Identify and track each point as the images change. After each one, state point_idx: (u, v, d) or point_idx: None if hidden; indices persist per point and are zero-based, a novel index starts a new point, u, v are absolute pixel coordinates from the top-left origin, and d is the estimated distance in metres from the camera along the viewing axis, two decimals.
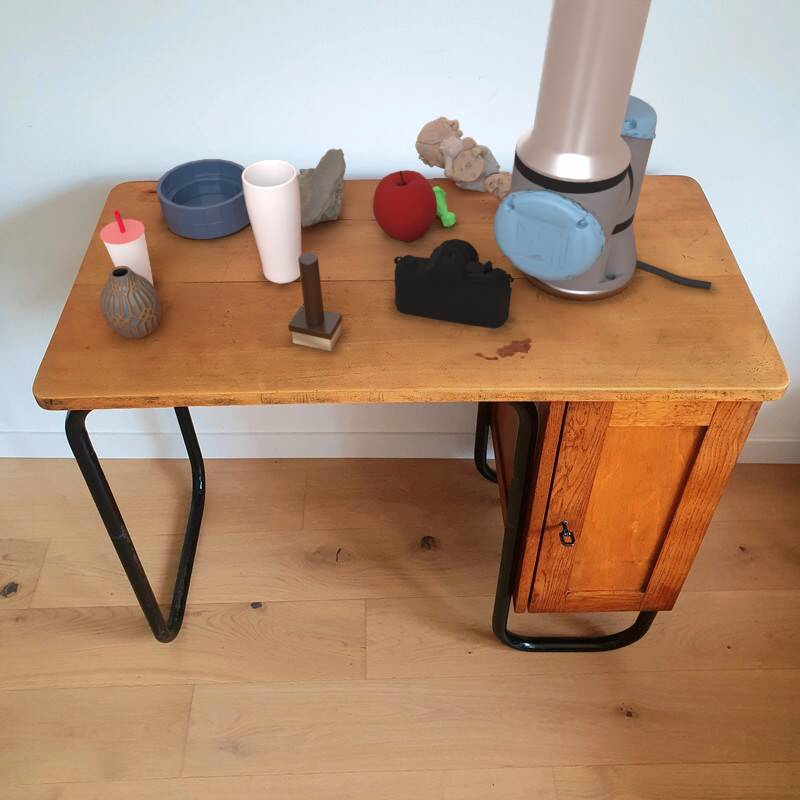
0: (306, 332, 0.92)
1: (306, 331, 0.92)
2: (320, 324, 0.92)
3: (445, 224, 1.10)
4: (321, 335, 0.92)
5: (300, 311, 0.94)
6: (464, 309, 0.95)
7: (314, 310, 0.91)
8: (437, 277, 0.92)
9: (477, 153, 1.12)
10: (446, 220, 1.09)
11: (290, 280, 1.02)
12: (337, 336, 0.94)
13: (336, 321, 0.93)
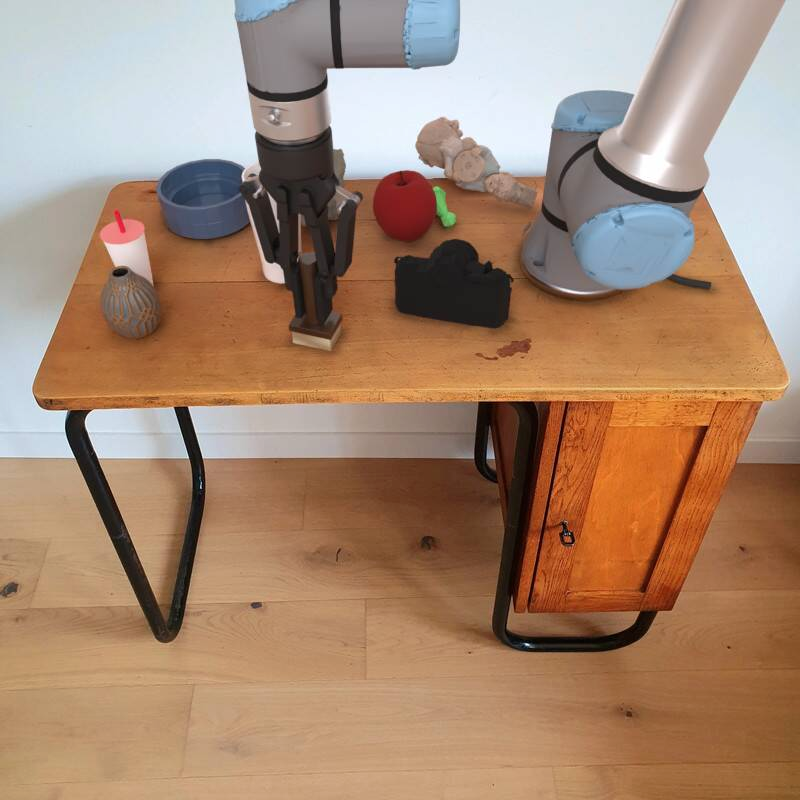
0: (306, 332, 0.92)
1: (306, 331, 0.92)
2: (320, 324, 0.92)
3: (445, 224, 1.10)
4: (321, 335, 0.92)
5: None
6: (464, 309, 0.95)
7: (314, 310, 0.91)
8: (437, 277, 0.92)
9: (477, 153, 1.12)
10: (446, 220, 1.09)
11: None
12: (337, 336, 0.94)
13: (336, 321, 0.93)
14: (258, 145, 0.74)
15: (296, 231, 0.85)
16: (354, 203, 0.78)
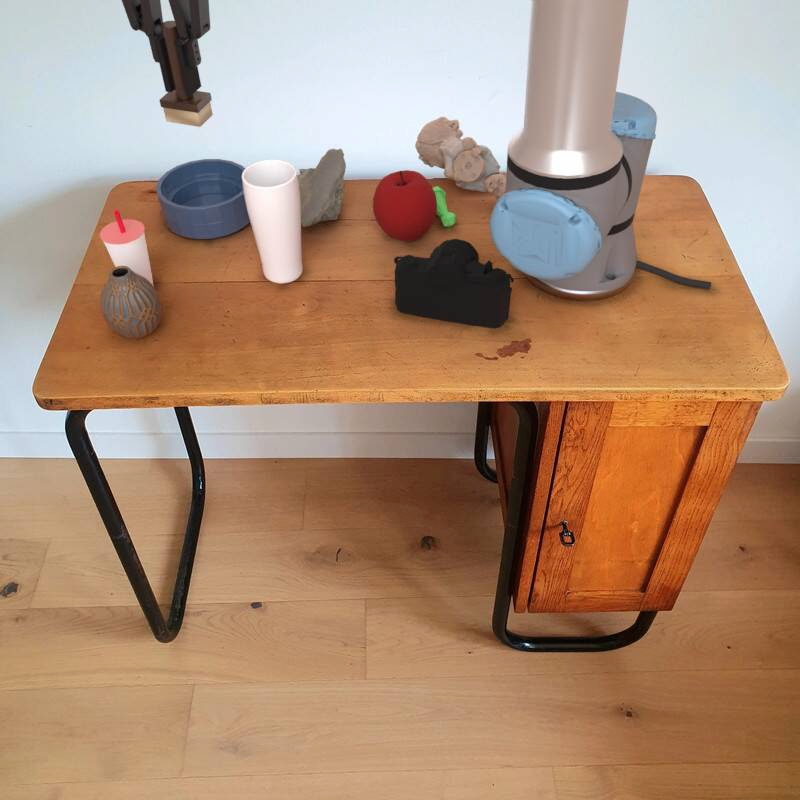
0: (175, 106, 0.99)
1: (175, 105, 0.99)
2: (189, 99, 0.99)
3: (445, 224, 1.10)
4: (189, 108, 0.99)
5: (172, 91, 1.01)
6: (464, 309, 0.95)
7: (181, 82, 0.98)
8: (437, 277, 0.92)
9: (477, 153, 1.12)
10: (446, 220, 1.09)
11: (290, 280, 1.02)
12: (206, 114, 1.01)
13: (204, 97, 1.00)
14: None
15: None
16: None
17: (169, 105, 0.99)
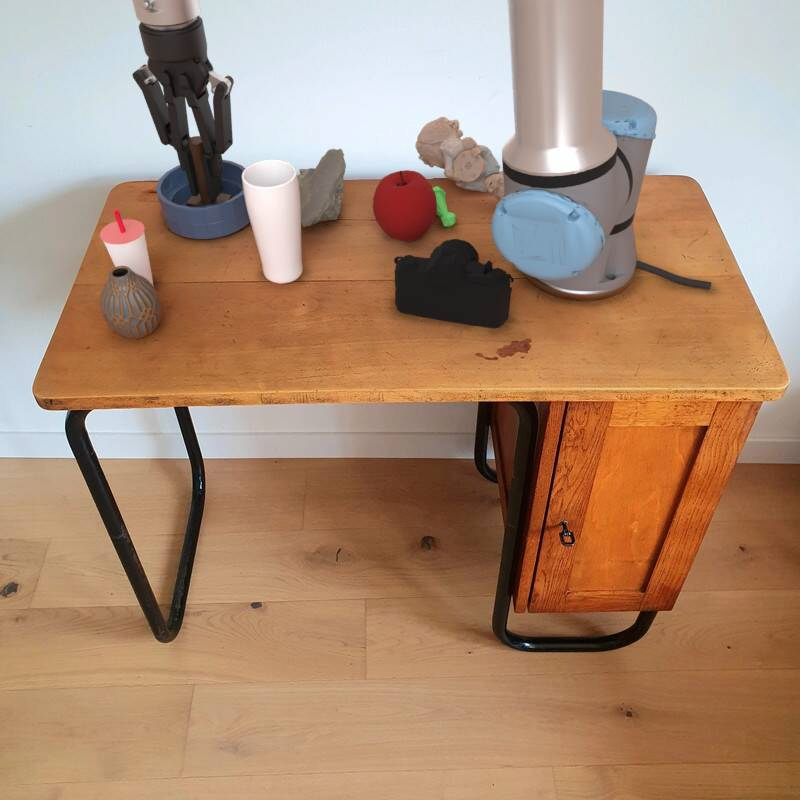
0: None
1: None
2: (212, 202, 1.09)
3: (445, 224, 1.10)
4: None
5: None
6: (464, 309, 0.95)
7: (205, 188, 1.07)
8: (437, 277, 0.92)
9: (477, 153, 1.12)
10: (446, 220, 1.09)
11: (290, 280, 1.02)
12: None
13: (226, 200, 1.10)
14: (140, 32, 0.91)
15: (185, 116, 1.02)
16: (224, 84, 0.95)
17: None
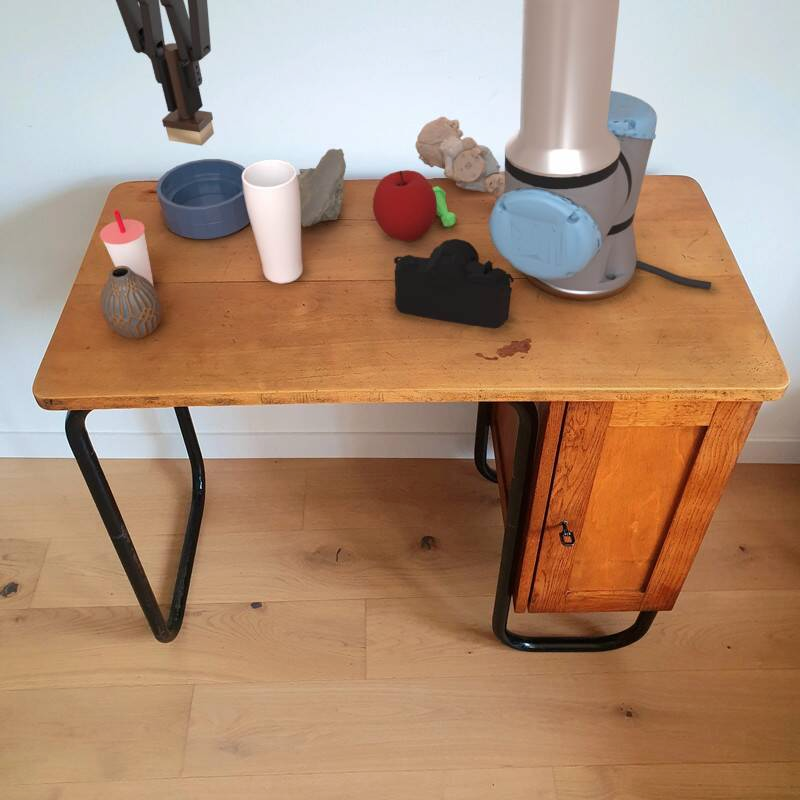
0: (178, 126, 1.02)
1: (177, 125, 1.02)
2: (190, 119, 1.02)
3: (445, 224, 1.10)
4: (191, 127, 1.01)
5: None
6: (464, 309, 0.95)
7: (182, 102, 1.00)
8: (437, 277, 0.92)
9: (477, 153, 1.12)
10: (446, 220, 1.09)
11: (290, 280, 1.02)
12: (208, 133, 1.04)
13: (205, 117, 1.02)
14: None
15: (159, 20, 0.95)
16: None
17: (171, 125, 1.02)
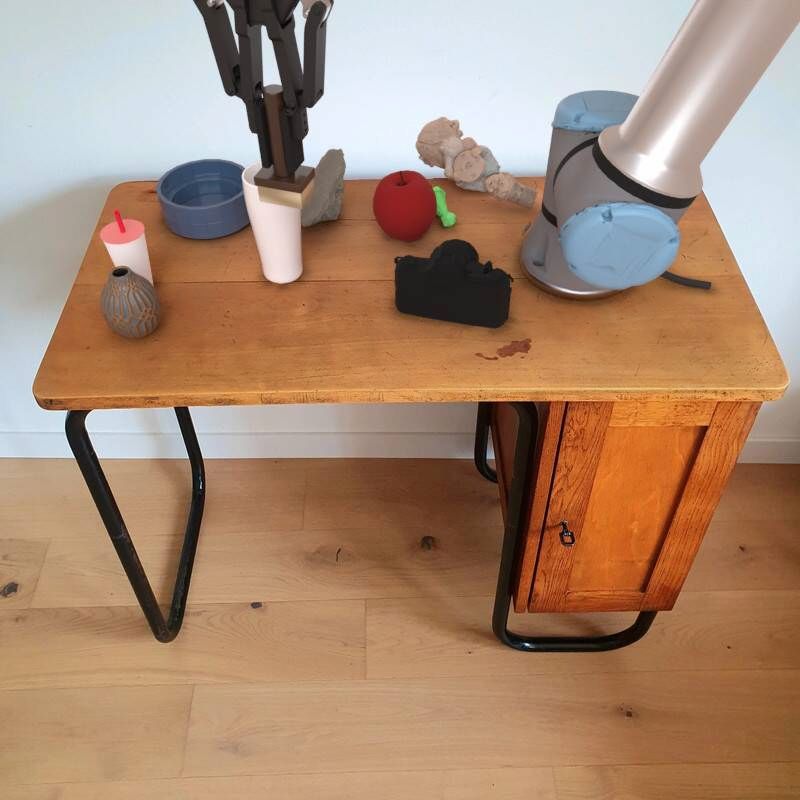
0: (273, 185, 0.81)
1: (273, 184, 0.81)
2: (289, 176, 0.81)
3: (445, 224, 1.10)
4: (290, 188, 0.81)
5: None
6: (464, 309, 0.95)
7: (282, 157, 0.79)
8: (437, 277, 0.92)
9: (477, 153, 1.12)
10: (446, 220, 1.09)
11: (290, 280, 1.02)
12: (309, 193, 0.83)
13: (308, 174, 0.82)
14: None
15: (260, 55, 0.74)
16: (323, 4, 0.67)
17: (265, 184, 0.81)
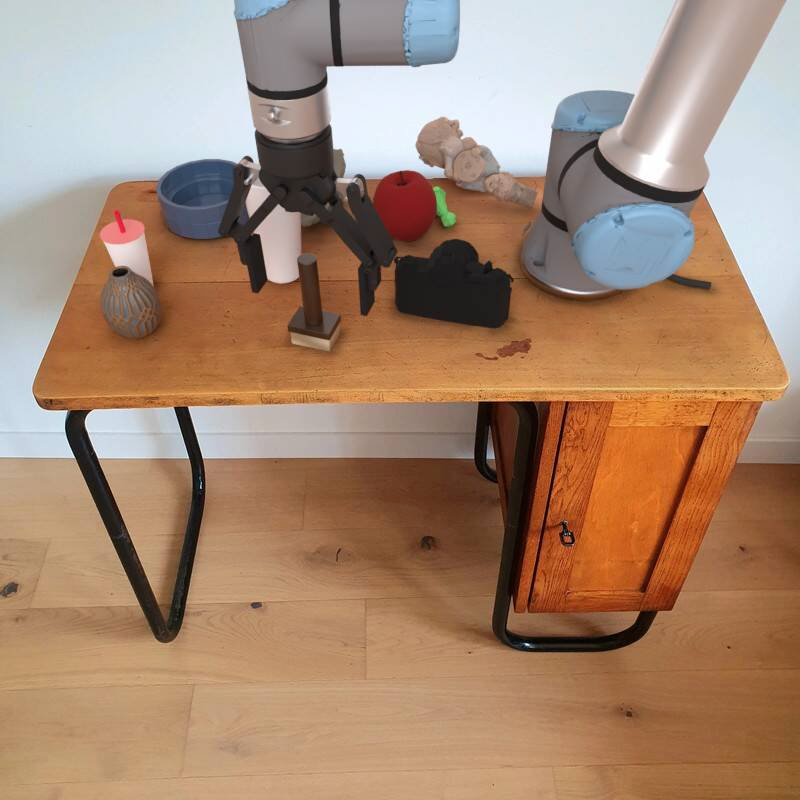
0: (305, 332, 0.92)
1: (305, 331, 0.92)
2: (319, 324, 0.92)
3: (445, 224, 1.10)
4: (320, 335, 0.92)
5: (299, 311, 0.94)
6: (464, 309, 0.95)
7: (313, 311, 0.90)
8: (437, 277, 0.92)
9: (477, 153, 1.12)
10: (446, 220, 1.09)
11: (290, 280, 1.02)
12: (335, 336, 0.94)
13: (335, 321, 0.93)
14: (258, 143, 0.74)
15: None
16: (353, 184, 0.77)
17: (298, 331, 0.92)
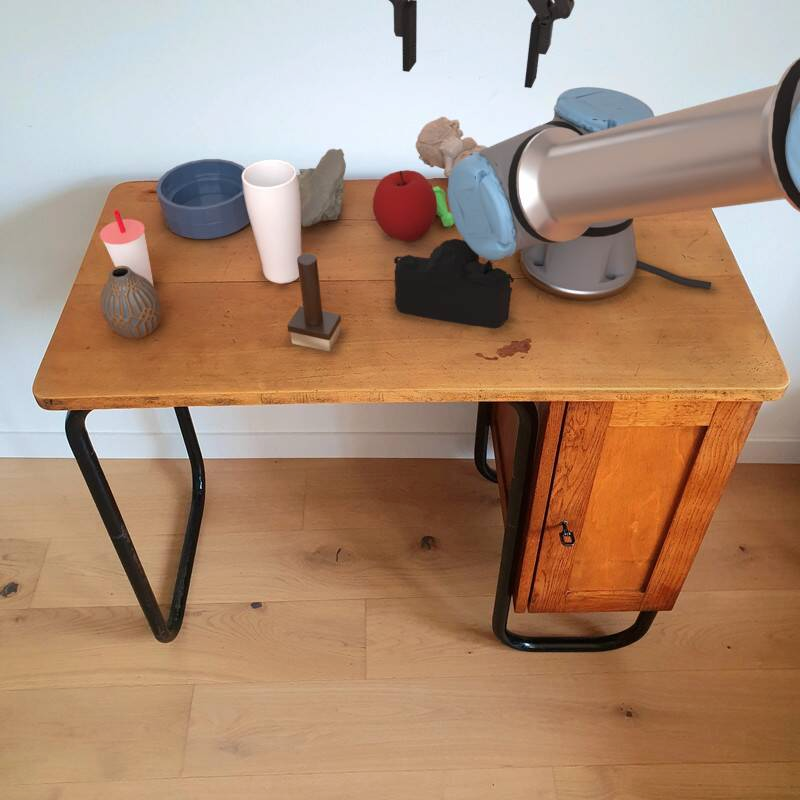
0: (305, 332, 0.92)
1: (305, 331, 0.92)
2: (319, 324, 0.92)
3: (445, 224, 1.10)
4: (320, 335, 0.92)
5: (299, 311, 0.94)
6: (464, 309, 0.95)
7: (313, 311, 0.90)
8: (437, 277, 0.92)
9: None
10: (446, 220, 1.09)
11: (290, 280, 1.02)
12: (335, 336, 0.94)
13: (335, 321, 0.93)
14: None
15: None
16: None
17: (298, 331, 0.92)
